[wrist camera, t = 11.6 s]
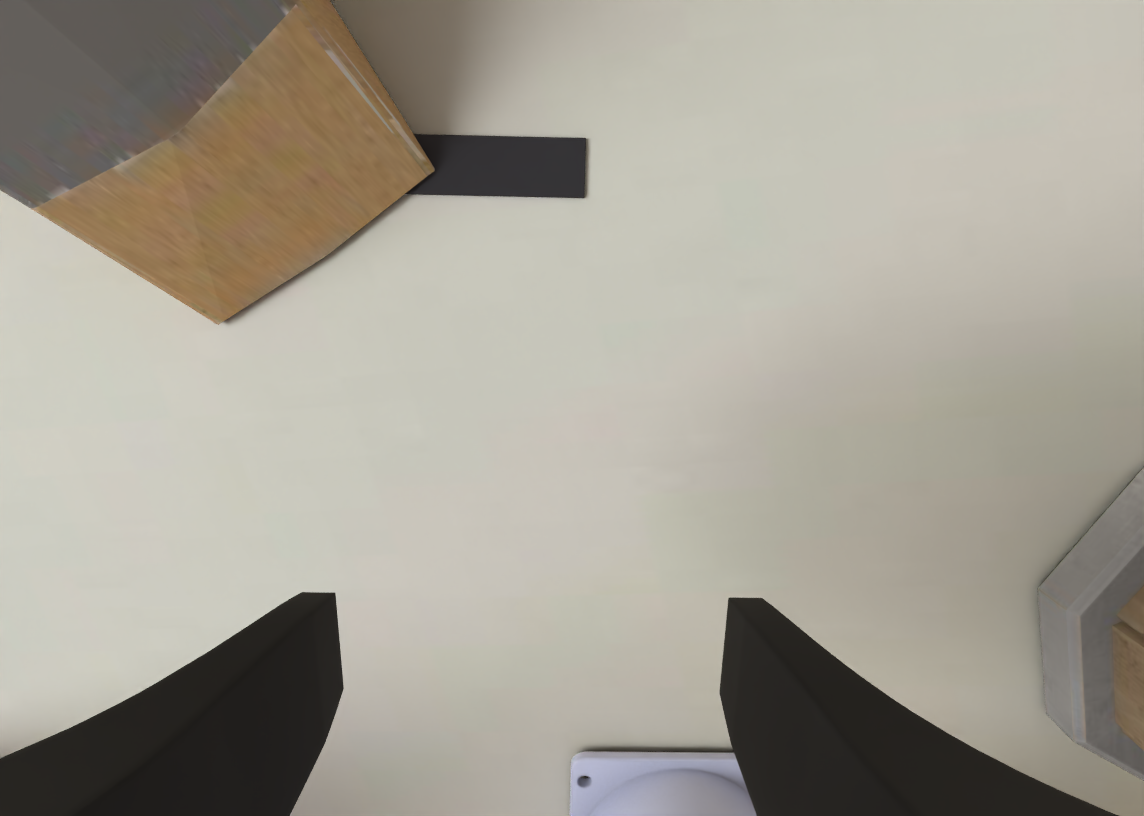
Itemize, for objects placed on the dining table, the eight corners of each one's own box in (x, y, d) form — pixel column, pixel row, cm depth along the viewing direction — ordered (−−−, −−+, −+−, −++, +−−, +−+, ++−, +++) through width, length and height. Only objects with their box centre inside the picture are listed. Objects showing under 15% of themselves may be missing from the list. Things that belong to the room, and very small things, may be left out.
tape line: (584, 197, 19) (584, 197, 19) (-259, 180, 18) (-264, 179, 18) (585, 138, 18) (585, 138, 18) (-278, 118, 18) (-282, 118, 18)
